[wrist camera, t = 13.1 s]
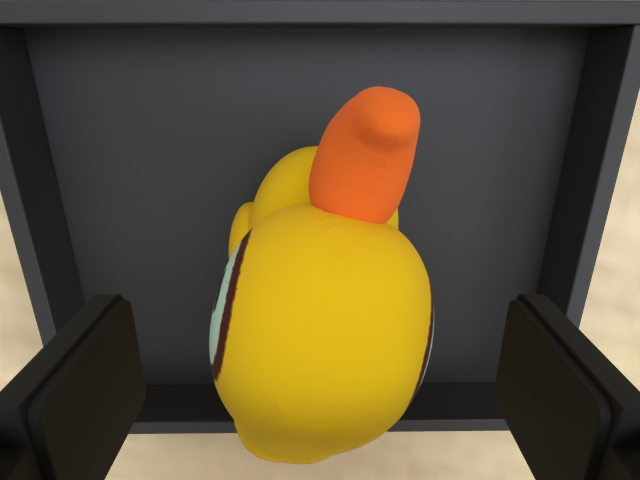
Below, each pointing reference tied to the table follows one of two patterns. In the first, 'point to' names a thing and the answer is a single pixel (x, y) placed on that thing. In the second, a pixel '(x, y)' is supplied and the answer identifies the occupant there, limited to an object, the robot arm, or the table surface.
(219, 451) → the table surface
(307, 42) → the pan
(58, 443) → the robot arm
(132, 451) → the table surface
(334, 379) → the duckling
